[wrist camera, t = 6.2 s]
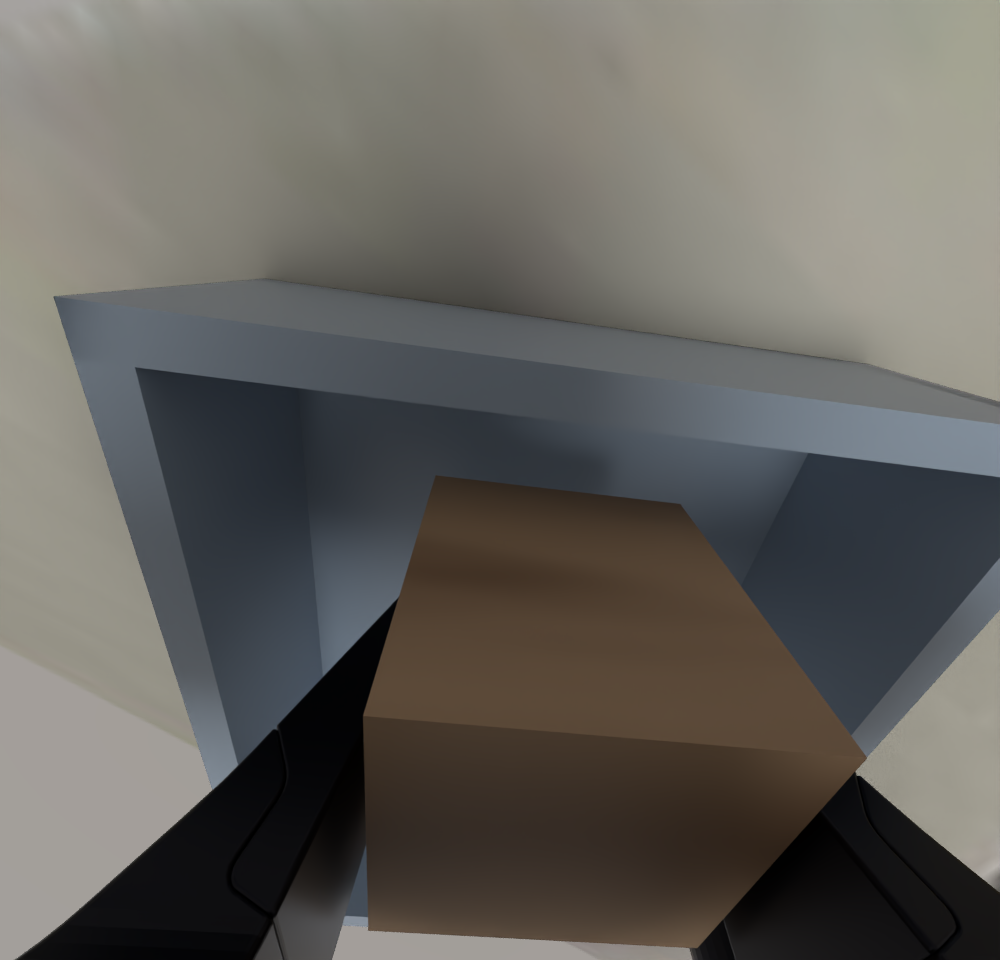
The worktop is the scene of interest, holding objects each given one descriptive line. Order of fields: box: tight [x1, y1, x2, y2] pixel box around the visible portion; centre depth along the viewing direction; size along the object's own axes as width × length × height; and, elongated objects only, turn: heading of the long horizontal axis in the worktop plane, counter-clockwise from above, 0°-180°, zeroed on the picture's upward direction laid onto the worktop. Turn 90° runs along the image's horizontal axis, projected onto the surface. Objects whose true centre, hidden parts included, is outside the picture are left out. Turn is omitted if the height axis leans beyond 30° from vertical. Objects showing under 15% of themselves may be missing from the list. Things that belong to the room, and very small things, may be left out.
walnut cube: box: [363, 475, 867, 948], centre depth 7 cm, size 5×5×5 cm
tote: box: [53, 279, 1000, 927], centre depth 13 cm, size 20×16×6 cm
